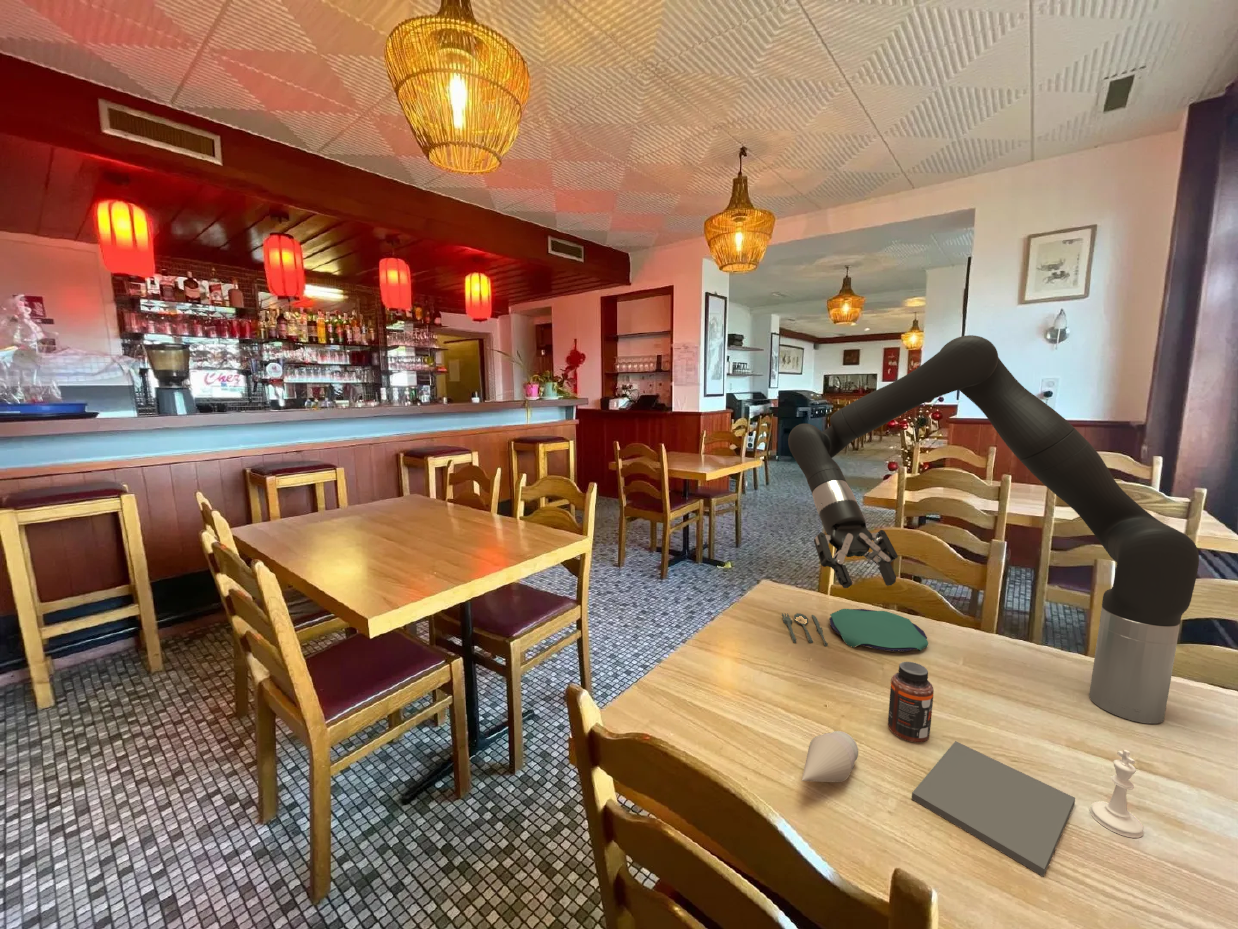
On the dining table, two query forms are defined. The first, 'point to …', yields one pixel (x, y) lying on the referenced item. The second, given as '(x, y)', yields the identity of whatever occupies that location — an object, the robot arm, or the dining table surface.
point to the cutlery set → (869, 630)
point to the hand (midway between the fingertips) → (870, 585)
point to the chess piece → (1119, 801)
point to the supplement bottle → (911, 703)
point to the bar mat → (997, 805)
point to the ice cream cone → (830, 757)
